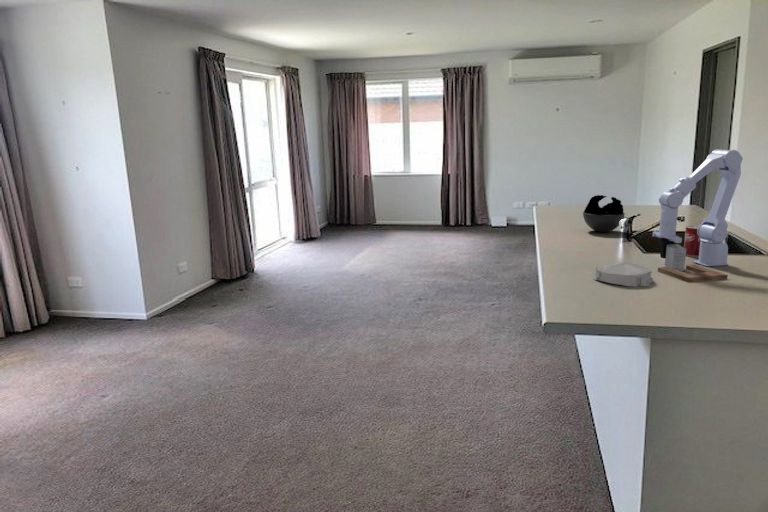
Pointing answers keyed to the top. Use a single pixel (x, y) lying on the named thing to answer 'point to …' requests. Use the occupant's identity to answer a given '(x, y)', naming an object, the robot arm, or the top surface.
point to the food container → (624, 274)
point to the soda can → (692, 241)
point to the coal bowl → (603, 214)
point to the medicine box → (675, 257)
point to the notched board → (700, 274)
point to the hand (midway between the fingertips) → (664, 257)
